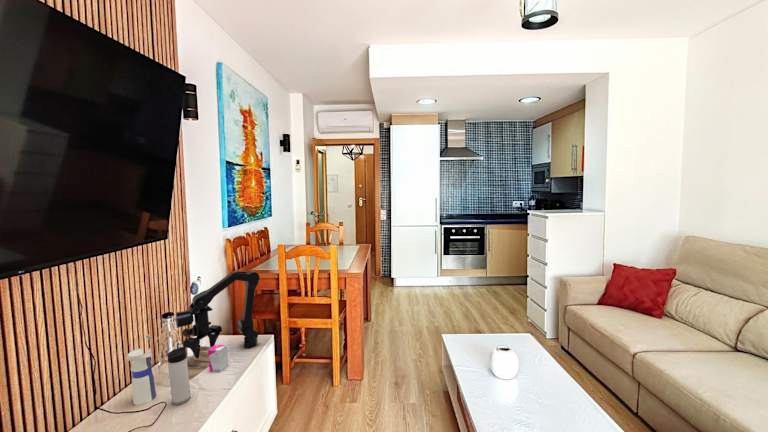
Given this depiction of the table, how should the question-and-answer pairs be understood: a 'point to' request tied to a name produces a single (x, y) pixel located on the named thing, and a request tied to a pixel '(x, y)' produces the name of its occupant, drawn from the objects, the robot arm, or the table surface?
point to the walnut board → (195, 367)
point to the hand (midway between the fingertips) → (204, 353)
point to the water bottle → (142, 376)
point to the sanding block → (203, 354)
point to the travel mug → (178, 376)
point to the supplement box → (218, 358)
